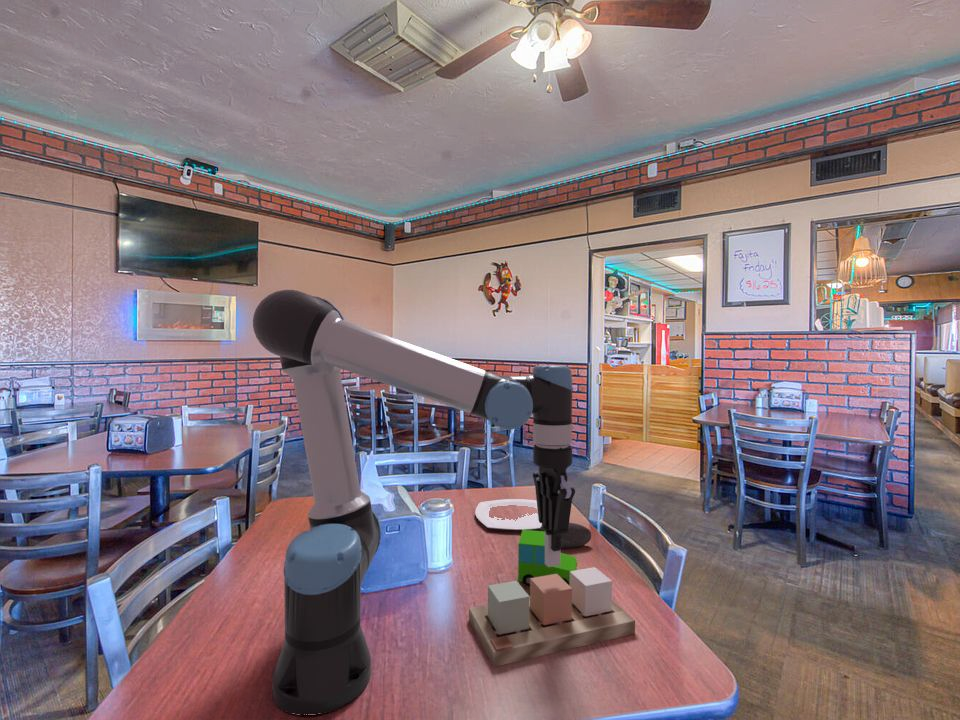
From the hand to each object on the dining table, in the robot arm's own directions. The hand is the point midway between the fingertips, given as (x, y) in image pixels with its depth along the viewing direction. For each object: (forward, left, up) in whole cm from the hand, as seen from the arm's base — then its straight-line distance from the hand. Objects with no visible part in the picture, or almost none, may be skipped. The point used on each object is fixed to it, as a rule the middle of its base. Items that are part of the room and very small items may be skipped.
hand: (552, 564), depth 88 cm
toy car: (+8, +16, -13) cm, 22 cm away
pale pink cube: (+9, 0, -10) cm, 13 cm away
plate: (+17, +55, -13) cm, 59 cm away
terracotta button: (0, 0, -10) cm, 10 cm away
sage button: (-9, 0, -10) cm, 13 cm away
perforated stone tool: (+21, +31, -13) cm, 39 cm away
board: (0, 0, -12) cm, 12 cm away
